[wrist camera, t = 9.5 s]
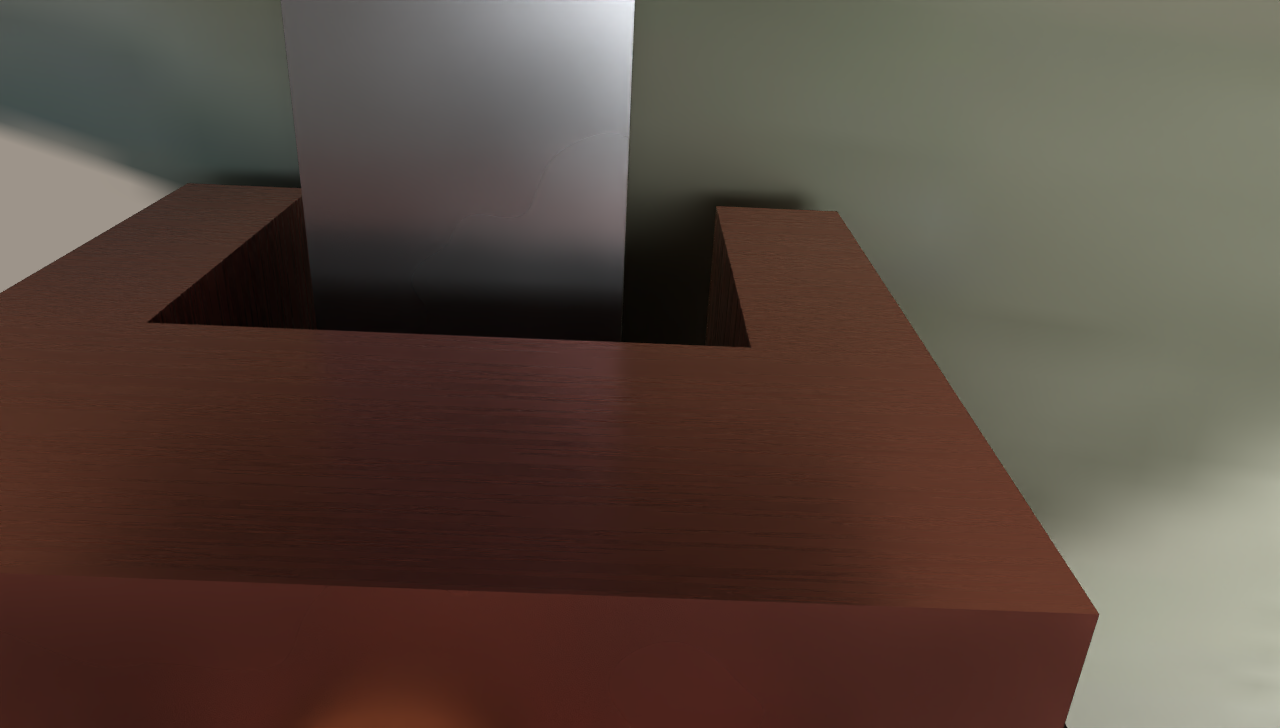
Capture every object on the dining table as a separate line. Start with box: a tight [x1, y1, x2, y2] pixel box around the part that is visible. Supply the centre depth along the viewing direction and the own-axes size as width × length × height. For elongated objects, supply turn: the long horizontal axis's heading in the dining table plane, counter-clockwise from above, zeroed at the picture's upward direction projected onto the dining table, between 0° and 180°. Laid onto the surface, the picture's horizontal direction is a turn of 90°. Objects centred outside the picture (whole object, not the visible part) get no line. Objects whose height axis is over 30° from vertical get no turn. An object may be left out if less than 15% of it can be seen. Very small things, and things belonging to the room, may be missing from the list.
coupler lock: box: [0, 183, 1099, 728], centre depth 8 cm, size 7×6×7 cm
